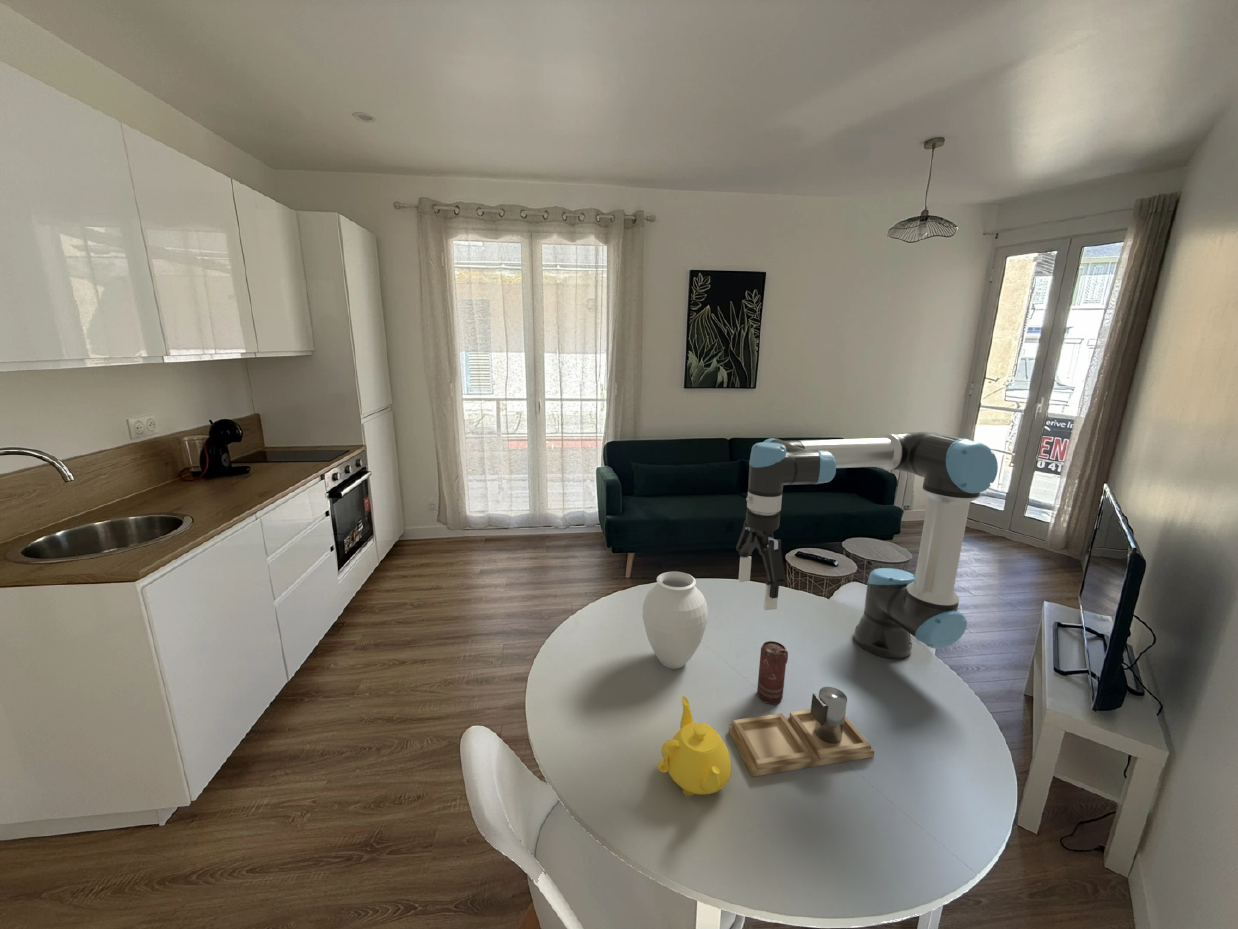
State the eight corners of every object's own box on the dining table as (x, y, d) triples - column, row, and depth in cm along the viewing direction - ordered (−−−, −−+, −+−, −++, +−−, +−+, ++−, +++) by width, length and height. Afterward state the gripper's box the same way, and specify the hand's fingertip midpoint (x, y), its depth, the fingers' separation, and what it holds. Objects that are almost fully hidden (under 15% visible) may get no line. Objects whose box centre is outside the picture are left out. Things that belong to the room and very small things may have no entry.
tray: (838, 715, 114) (840, 705, 113) (873, 756, 103) (875, 745, 102) (728, 731, 109) (729, 720, 108) (752, 776, 98) (753, 764, 97)
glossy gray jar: (831, 722, 110) (836, 685, 108) (847, 742, 105) (852, 703, 102) (806, 726, 109) (810, 688, 106) (820, 746, 103) (825, 706, 101)
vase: (632, 671, 129) (633, 587, 123) (652, 636, 145) (655, 560, 139) (697, 689, 123) (701, 601, 117) (711, 650, 139) (715, 571, 133)
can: (784, 706, 117) (790, 656, 114) (758, 703, 118) (762, 653, 115) (781, 690, 123) (786, 641, 119) (756, 686, 124) (760, 638, 121)
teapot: (646, 743, 106) (647, 699, 103) (710, 734, 108) (712, 691, 106) (672, 831, 86) (674, 779, 84) (748, 817, 89) (753, 767, 86)
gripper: (726, 495, 121) (721, 572, 126) (775, 530, 97) (766, 624, 102) (753, 493, 122) (748, 569, 127) (808, 528, 98) (798, 620, 103)
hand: (756, 594), depth 114 cm, fingers open, 13 cm apart
